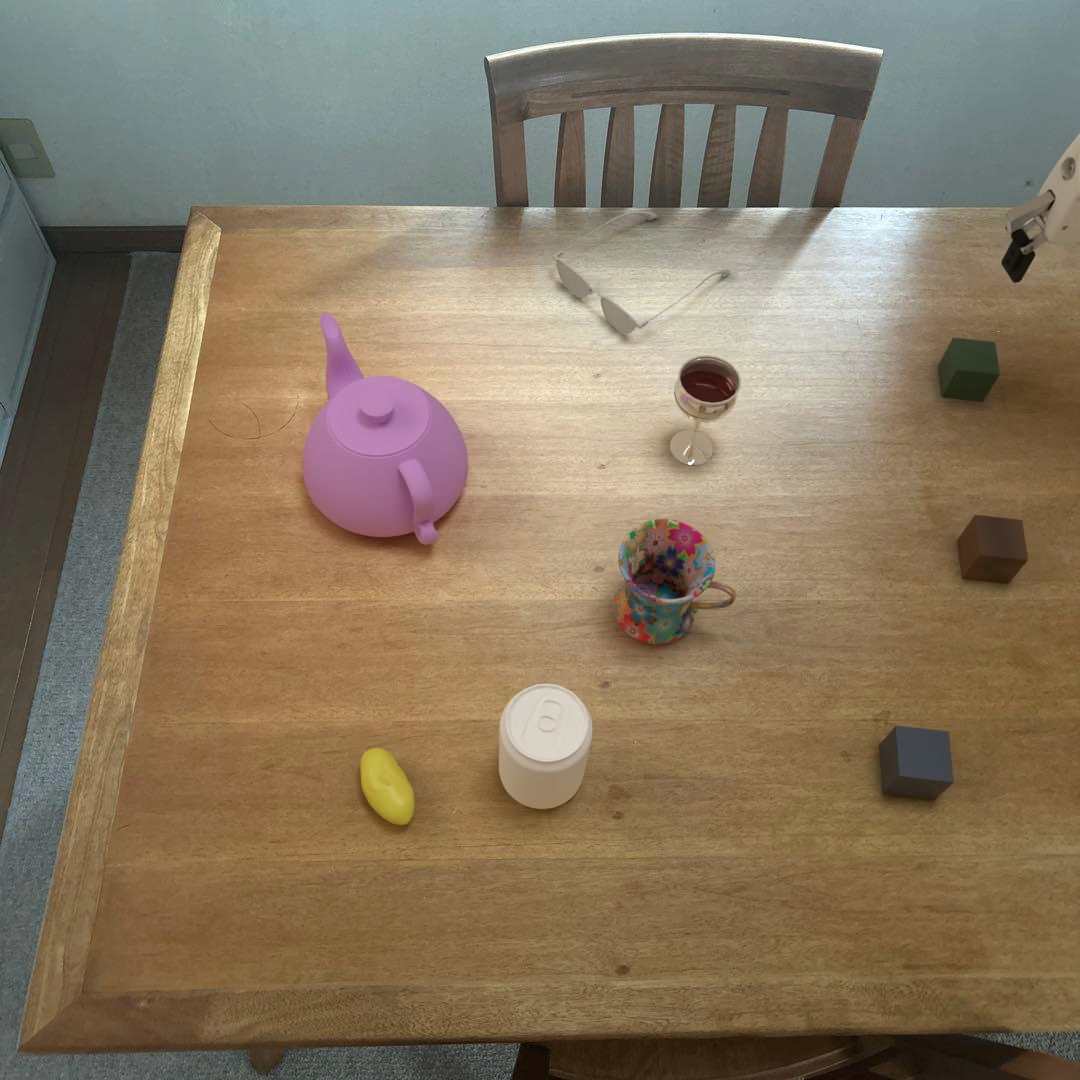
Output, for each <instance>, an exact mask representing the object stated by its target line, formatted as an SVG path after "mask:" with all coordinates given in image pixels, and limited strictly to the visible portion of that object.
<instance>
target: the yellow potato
mask: <svg viewBox="0 0 1080 1080" xmlns="http://www.w3.org/2000/svg"><path fill="white" fill-rule="evenodd" d="M359 763H360V764H359V769H360V770H359V771H360V785H361V789H362V792H363V795H364V797H365V798H366V799H365V800H367V802H368V804H369V805H370V807H372V809H373V810H374V811H375V813H377V814H378V815H379V816H380V817H381V818H383V819H384V820H385V821H387V822H388V823H390V824H393V825H396V826H397V825H398V826H405V825H407V824H409V823H410V821H411V820H412V818H413V816H414V812H415V792H414V789H413V787H412V785H411V784H410V782H409V780H408V777H407V773H405V772H404V770H403V769H402V768H401V767H400V765H399V764H398V762H397V760H396V759H395V757H394V755H393V754H391V753H390V751H388V750H387V749H385V748H381V747H374V748H370V749H368V750H366V751H365V752H364V753H363V754H362V757H361V758H360V762H359Z"/></svg>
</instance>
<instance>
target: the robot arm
mask: <svg viewBox="0 0 1080 1080" xmlns="http://www.w3.org/2000/svg"><path fill="white" fill-rule="evenodd" d="M1004 221H1005V231H1006V233H1007V234H1008V235H1009V237H1010V239H1011V242H1010V244H1009V246H1008V248H1007V249H1006V252H1005V253H1004V256H1003V257H1002V259H1001V262H1000V263H1001V266H1002V268H1003V269H1004V270H1005V272H1006V274H1007V275H1008V277H1009V279H1010V280H1011V281H1012V283H1014V284H1017V283H1021V281H1022V280H1023V278H1024V277H1025V275H1026V273H1027V272H1028V270H1029V268H1030V266H1031V264H1032V263H1033V261H1034V259H1035V257H1036V252H1035V250H1036V249H1038V248H1039V247H1040V246H1042V245H1044V244H1045V243H1046V242H1047V241H1048V242H1049V243H1051V244H1054V245H1064V244H1065V245H1067V244H1074V243H1080V132H1079V133H1078V135H1077V136H1075V138H1074V140H1073V141H1072V142H1071V143H1070V144H1069V146H1068V147H1067V148H1066V150H1064V152H1063V154H1062V155H1061V156H1060V158H1059V159H1058V161H1057V162H1056V164H1055V166H1054V167H1053V168H1052V169H1051V171H1050V173H1049V175H1048V176H1047V178H1046V179H1045V181H1044V183H1043V184H1042V186H1041V188H1040V190H1039V191H1038V193H1037V195H1036V196H1035V197H1034V198H1032V199H1030V200H1027V201H1025V202H1023V203H1022V204H1020V205H1017V206H1015V207H1013V208H1011V209H1009V210H1008V211H1006V213H1005V215H1004ZM1036 226H1038V227H1039V228H1040V229H1041V231H1040V232H1038V233H1037V234H1035V235H1034V236H1033V237H1031V238H1030V237H1029V235H1028V234H1027V233H1028V232H1030V231H1032V229H1034V228H1035V227H1036Z"/></svg>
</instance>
